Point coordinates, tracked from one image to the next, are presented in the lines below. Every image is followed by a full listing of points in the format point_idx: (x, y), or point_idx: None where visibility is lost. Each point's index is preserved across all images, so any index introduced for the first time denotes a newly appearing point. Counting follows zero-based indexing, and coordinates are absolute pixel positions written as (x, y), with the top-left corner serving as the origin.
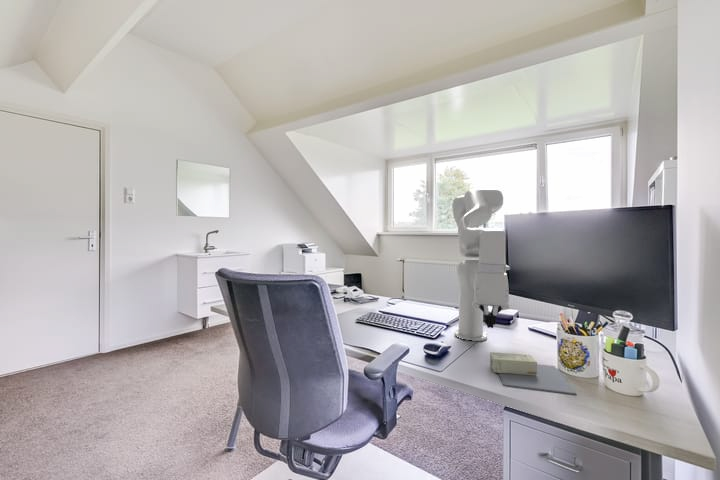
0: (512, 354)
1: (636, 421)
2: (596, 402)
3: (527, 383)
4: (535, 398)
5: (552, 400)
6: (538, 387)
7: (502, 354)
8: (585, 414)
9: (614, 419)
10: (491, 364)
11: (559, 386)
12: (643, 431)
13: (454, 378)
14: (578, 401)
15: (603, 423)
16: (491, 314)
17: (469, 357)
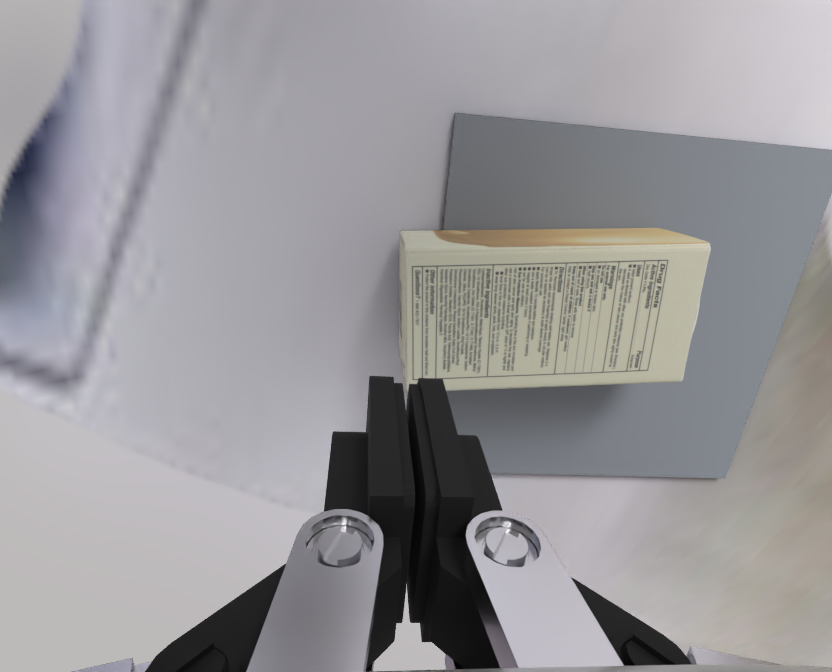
0: (571, 274)
1: (795, 596)
2: (758, 513)
3: (544, 437)
4: None
5: (587, 538)
6: (580, 464)
7: (490, 296)
8: (653, 597)
9: (731, 602)
10: (399, 296)
11: (689, 432)
12: (767, 638)
13: (166, 448)
14: (690, 522)
15: (676, 629)
16: (427, 611)
17: (264, 76)
